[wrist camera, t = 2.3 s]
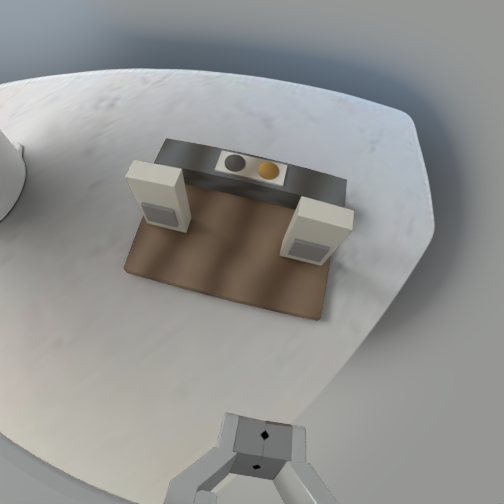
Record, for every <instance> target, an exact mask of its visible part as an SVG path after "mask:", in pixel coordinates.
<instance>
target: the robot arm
mask: <svg viewBox="0 0 504 504" xmlns="http://www.w3.org/2000/svg"><path fill="white" fill-rule="evenodd" d="M22 150H23V147H22V145H21V144H20V143H19V142H16V143H11V142H10V141H9V140H8V139H7V137H6V136H5V135H4V134H3V133H2V132H1V131H0V221H1V220H2V219H3V218H4V217H5V216H6V215H7V213H8V212H9V211H10V210H11V208H12V207H13V206H14V204H15V202H16V201H17V199H18V197H19V195H20V193H21V191H22V188H23V185H24V181H25V176H26V168H25V164H24V161H23V159H22ZM229 473H233V474H239V475H246V476H252V477H258V478H263V479H269V480H273V482H274V485H275V486H276V488H277V490H278V492H279V494H280V496H281V498H282V499H283V501H284V503H285V504H339V502H338V501H337V500H336V498H335V497H334V496H333V494H332V493H331V492H330V490H329V489H328V488H327V486H326V485H325V484H324V482H323V481H322V480H321V478H320V477H319V475H318V474H317V473H316V471H315V470H314V469H313V467H312V466H311V464H310V463H306V429H305V427H303V426H294V425H290V424H283V423H277V422H270V421H262V420H258V419H253V418H248V417H244V416H239V415H235V414H231V413H227V412H226V413H225V415H224V419H223V422H222V425H221V429H220V433H219V436H218V441H217V445H216V448H215V447H213V448H212V449H211V450H210V451H208V452H207V453H206V454H205V455H204V456H202V457H201V458H200V459H198V460H197V461H196V462H195V463H193V464H192V465H191V466H190V467H188V468H187V469H186V470H184V471H183V472H182V473H180V474H179V475H178V476H176V477H175V478H174V479H172V480H171V481H170V484H169V487H168V491H167V494H166V497H165V500H164V503H163V504H216V502H217V496H216V494H215V493H213V492H210V491H211V490H212V489H213V488H214V487H215V486H216V485H217V484H218V483H220V482H221V481H222V480H223V479H224V478H225V477H226V476H227V475H228V474H229ZM0 504H138V503H135V502H132V501H129V500H127V499H124V498H121V497H119V496H116V495H114V494H111V493H109V492H106V491H104V490H102V489H99V488H97V487H95V486H93V485H90V484H88V483H86V482H84V481H82V480H80V479H78V478H76V477H74V476H72V475H70V474H68V473H66V472H64V471H62V470H60V469H58V468H56V467H54V466H53V465H51V464H49V463H47V462H46V461H44V460H42V459H40V458H39V457H37V456H35V455H34V454H32V453H30V452H29V451H27V450H26V449H24V448H22V447H21V446H19V445H18V444H16V443H15V442H13V441H12V440H10V439H9V438H7V437H6V436H4V435H3V434H2V433H0Z"/></svg>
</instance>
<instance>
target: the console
mask: <svg viewBox="0 0 504 504" xmlns="http://www.w3.org/2000/svg"><path fill="white" fill-rule="evenodd" d="M154 164H159V165H165V166H170V167H175V168H180V169H182V173H183V178H184V183H185V188H186V193H187V198H188V203H189V208H190V213H191V221H190V224H189V227H188V230H187V233H185V232H180V231H176V230H172V229H168V228H164V227H160V226H156V225H152V224H147V222H146V220H145V218H144V216H143V218H142V220H141V223H140V225H139V228H138V231H137V233H136V236H135V238H134V241H133V244H132V246H131V249H130V252H129V255H128V257H127V260H126V263H125V266H124V270H125V271H126V272H127V273H131V274H134V275H137V276H141V277H144V278H148V279H151V280H155V281H158V282H162V283H166V284H169V285H173V286H176V287H180V288H184V289H187V290H191V291H195V292H199V293H203V294H206V295H210V296H214V297H218V298H222V299H226V300H230V301H234V302H238V303H242V304H246V305H250V306H254V307H259V308H263V309H267V310H271V311H276V312H280V313H284V314H289V315H293V316H298V317H302V318H307V319H312V320H316V321H317V320H319V319H320V318H321V312H322V307H323V301H324V295H325V289H326V283H327V276H328V270H329V263H330V257H329V258H328V259H327V260H326V261H325V262H324V263H323V265H322V266H320V265H316V264H312V263H307V262H303V261H299V260H295V259H291V258H287V257H283V256H280V251H281V246H282V241H283V238H284V236H285V234H286V231H287V229H288V227H289V224H290V222H291V220H292V217H293V215H294V212H295V210H296V208H297V205H298V203H299V201H300V198H301V196H303V197H307V198H311V199H314V200H318V201H322V202H325V203H329V204H333V205H336V206H340V207H343V208H344V205H345V195H346V184H347V180H346V179H342V178H339V177H336V176H332V175H329V174H325V173H321V172H318V171H314V170H310V169H307V168H303V167H299V166H295V165H291V164H287V163H283V162H279V161H275V160H271V159H267V158H263V157H258V156H254V155H249V154H245V153H240V152H236V151H231V150H226V149H221V148H216V147H211V146H206V145H201V144H195V143H190V142H184V141H178V140H172V139H166V140H165V142H164V144H163V146H162V148H161V150H160V152H159V154H158V156H157V158H156V160H155V162H154ZM330 256H331V255H330Z"/></svg>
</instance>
